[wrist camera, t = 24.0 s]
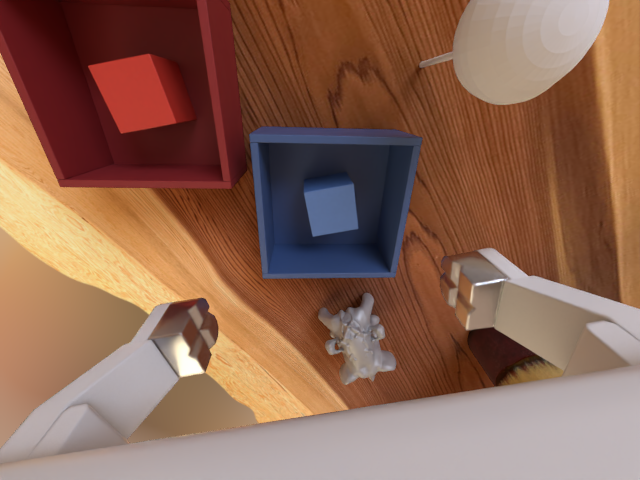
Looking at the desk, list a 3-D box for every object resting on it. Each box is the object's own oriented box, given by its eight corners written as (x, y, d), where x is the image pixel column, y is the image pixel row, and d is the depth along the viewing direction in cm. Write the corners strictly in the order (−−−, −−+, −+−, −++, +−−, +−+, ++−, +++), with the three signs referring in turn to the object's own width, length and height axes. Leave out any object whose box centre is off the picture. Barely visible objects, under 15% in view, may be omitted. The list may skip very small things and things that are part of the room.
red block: (125, 71, 22) (86, 65, 18) (177, 61, 22) (149, 53, 18) (150, 128, 24) (120, 133, 20) (197, 119, 24) (176, 123, 20)
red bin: (54, -6, 20) (-46, -49, 14) (230, 3, 21) (201, -35, 15) (113, 168, 26) (60, 187, 20) (247, 170, 27) (231, 188, 21)
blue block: (303, 179, 27) (303, 192, 23) (346, 171, 27) (353, 183, 23) (311, 218, 29) (312, 236, 25) (351, 211, 29) (358, 229, 25)
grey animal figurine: (358, 278, 34) (372, 322, 27) (405, 327, 39) (426, 375, 32) (305, 314, 37) (305, 362, 30) (355, 356, 41) (365, 406, 35)
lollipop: (462, 82, 24) (651, 59, 11) (402, 115, 25) (510, 131, 12) (444, 5, 22) (668, -149, 8) (378, 45, 23) (484, -33, 9)
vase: (497, 363, 44) (631, 545, 26) (452, 342, 41) (568, 531, 23) (552, 322, 40) (755, 502, 22) (507, 295, 37) (700, 479, 19)
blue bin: (261, 126, 25) (248, 133, 19) (396, 129, 26) (422, 137, 20) (270, 246, 31) (262, 279, 26) (379, 246, 32) (395, 277, 26)
